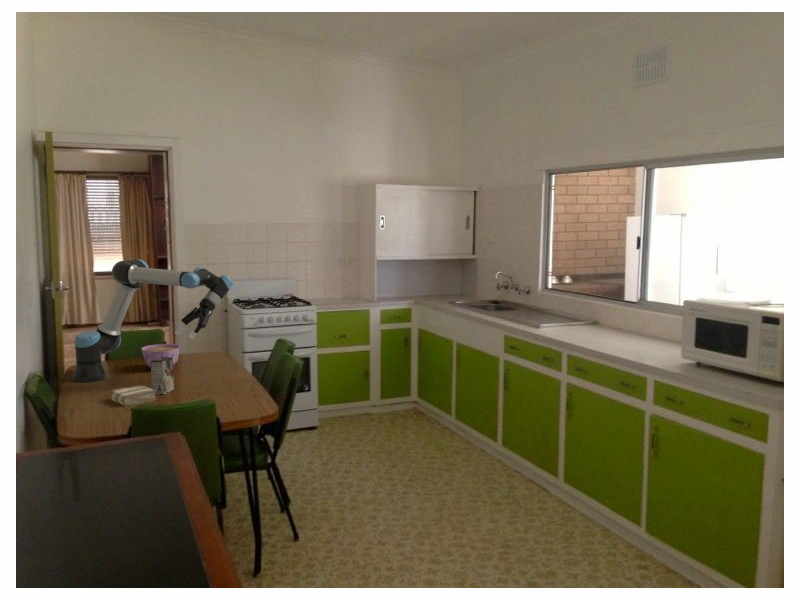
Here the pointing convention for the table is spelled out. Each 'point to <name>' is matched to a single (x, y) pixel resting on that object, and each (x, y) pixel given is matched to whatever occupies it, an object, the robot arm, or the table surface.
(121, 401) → the birch block
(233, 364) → the table surface
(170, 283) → the robot arm
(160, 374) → the coffee box
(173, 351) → the bowl of food
